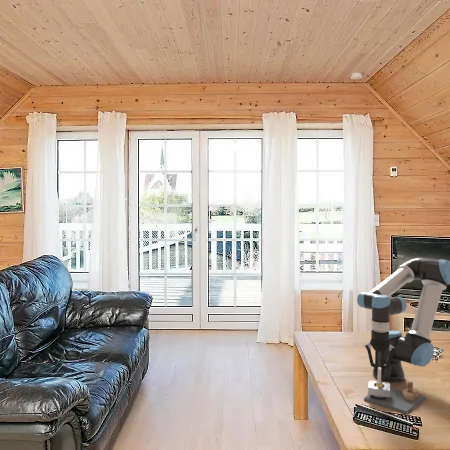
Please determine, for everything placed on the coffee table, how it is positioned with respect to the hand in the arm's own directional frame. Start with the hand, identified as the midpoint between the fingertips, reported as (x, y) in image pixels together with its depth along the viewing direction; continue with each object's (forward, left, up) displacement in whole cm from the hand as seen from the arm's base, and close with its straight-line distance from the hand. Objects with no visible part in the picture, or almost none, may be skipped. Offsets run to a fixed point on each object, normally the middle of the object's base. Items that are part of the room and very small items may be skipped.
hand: (379, 382), depth 203 cm
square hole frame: (0, 0, -4) cm, 4 cm away
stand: (-8, +11, -6) cm, 15 cm away
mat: (-4, +6, -7) cm, 10 cm away
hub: (0, 0, -6) cm, 6 cm away
